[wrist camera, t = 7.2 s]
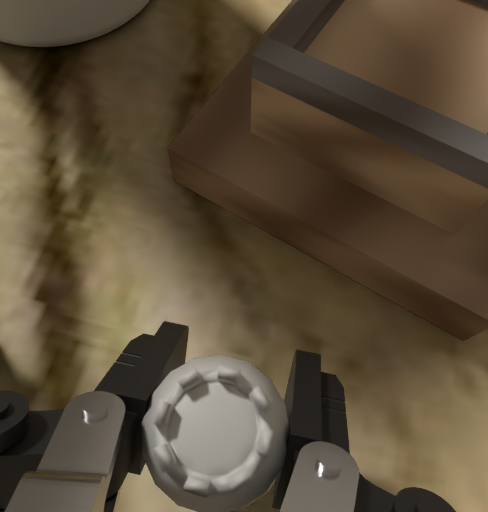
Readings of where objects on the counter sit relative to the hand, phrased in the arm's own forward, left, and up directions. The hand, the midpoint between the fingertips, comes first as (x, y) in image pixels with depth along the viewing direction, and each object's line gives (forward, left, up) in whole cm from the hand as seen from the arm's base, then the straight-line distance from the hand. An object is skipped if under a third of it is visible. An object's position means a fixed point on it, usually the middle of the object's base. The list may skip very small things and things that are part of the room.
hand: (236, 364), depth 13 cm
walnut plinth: (0, +13, -4) cm, 14 cm away
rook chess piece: (+1, -2, -4) cm, 5 cm away
